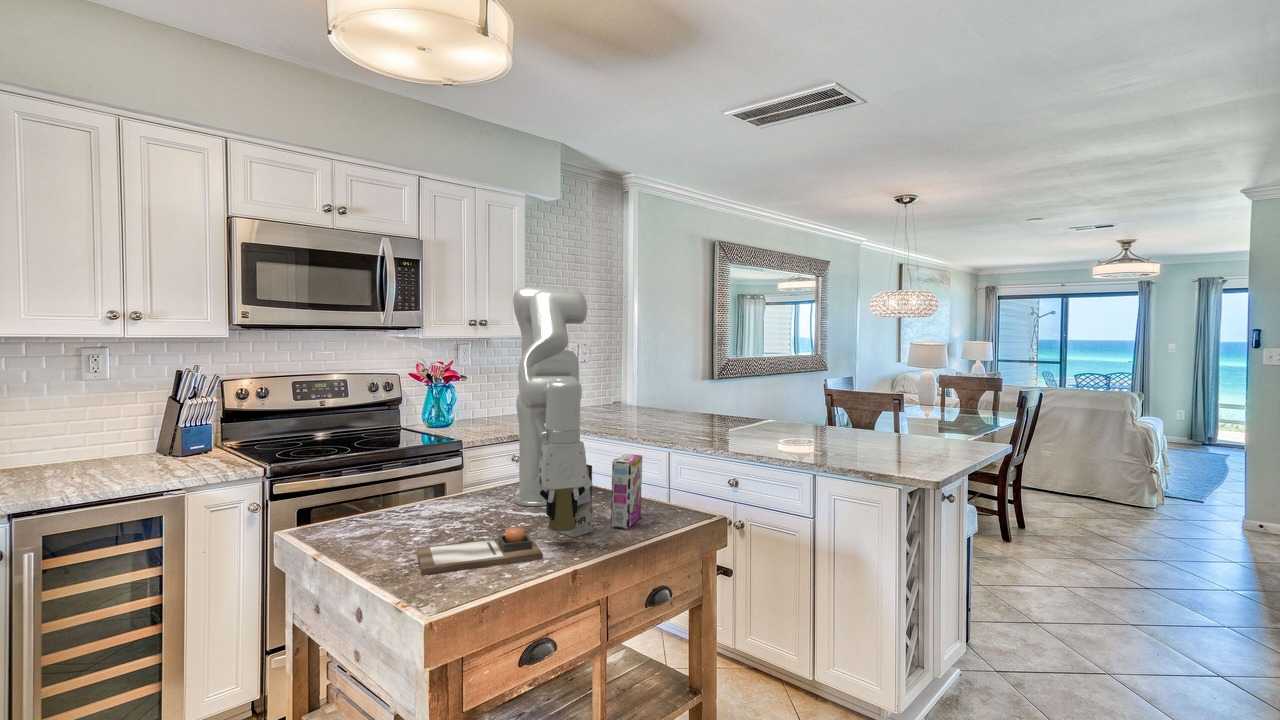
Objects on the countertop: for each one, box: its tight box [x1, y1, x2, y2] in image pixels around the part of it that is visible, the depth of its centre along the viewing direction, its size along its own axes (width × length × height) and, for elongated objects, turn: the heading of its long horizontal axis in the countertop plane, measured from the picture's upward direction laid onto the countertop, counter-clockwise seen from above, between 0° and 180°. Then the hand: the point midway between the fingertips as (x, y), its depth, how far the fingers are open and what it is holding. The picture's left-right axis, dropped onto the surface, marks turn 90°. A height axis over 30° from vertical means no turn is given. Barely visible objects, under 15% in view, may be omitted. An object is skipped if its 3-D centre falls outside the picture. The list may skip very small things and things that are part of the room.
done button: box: [504, 526, 525, 542], centre depth 136 cm, size 4×4×2 cm
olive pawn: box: [547, 488, 575, 532], centre depth 140 cm, size 6×6×11 cm
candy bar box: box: [610, 453, 643, 530], centre depth 157 cm, size 11×5×16 cm, turn 164°
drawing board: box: [416, 532, 544, 576], centre depth 133 cm, size 13×24×3 cm, turn 114°
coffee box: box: [555, 463, 593, 538], centre depth 150 cm, size 9×6×16 cm
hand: (561, 516), depth 140 cm, fingers closed on olive pawn, 4 cm apart
